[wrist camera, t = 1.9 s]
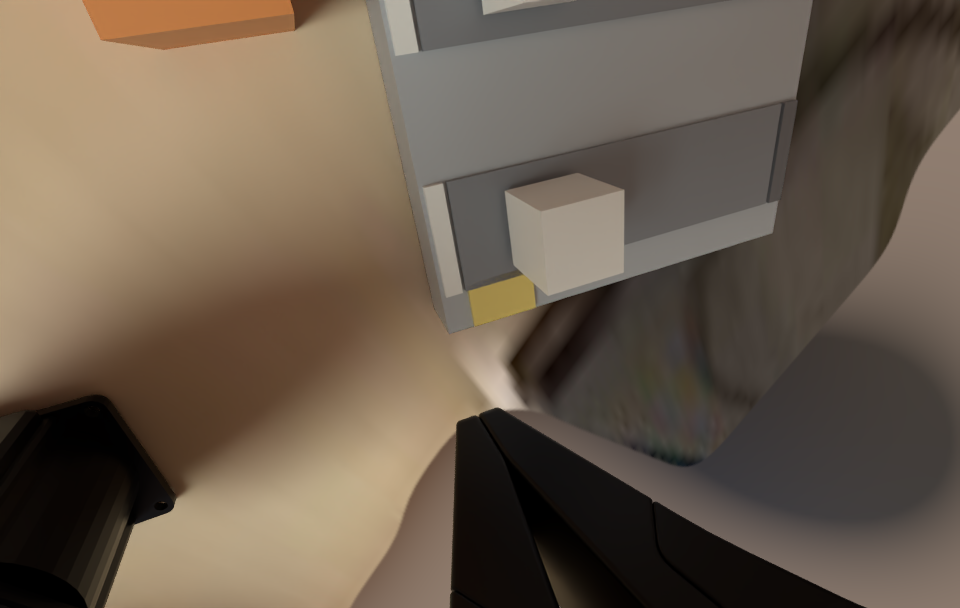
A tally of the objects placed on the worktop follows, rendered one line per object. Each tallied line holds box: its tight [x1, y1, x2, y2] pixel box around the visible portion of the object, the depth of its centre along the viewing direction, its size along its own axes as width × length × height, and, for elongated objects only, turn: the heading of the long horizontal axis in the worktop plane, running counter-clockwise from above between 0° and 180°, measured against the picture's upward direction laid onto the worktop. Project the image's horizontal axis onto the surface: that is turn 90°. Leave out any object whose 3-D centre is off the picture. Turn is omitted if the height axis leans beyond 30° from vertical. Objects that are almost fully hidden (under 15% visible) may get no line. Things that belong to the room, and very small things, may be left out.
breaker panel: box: [366, 0, 813, 334], centre depth 18 cm, size 16×17×3 cm
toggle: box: [505, 173, 624, 296], centre depth 17 cm, size 3×3×3 cm
